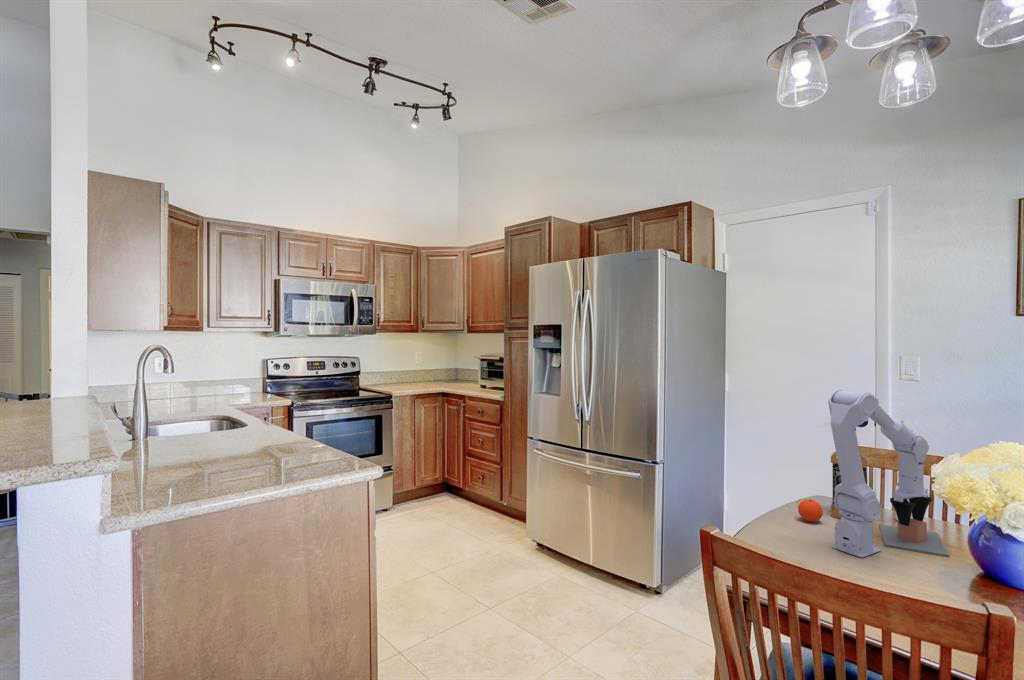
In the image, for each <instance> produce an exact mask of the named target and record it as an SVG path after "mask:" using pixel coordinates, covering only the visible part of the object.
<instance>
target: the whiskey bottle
mask: <svg viewBox="0 0 1024 680" xmlns="http://www.w3.org/2000/svg"><path fill="white" fill-rule="evenodd" d="M855 431H857V427H856V428H855ZM857 441H858V439H857ZM859 452H860V457H861V462H862V467H863V473H864V478H865V483H866V484H867V485H868V466H869V456H868V455H866V454H864V453H863V452H861V451H860V450H859ZM830 463H831V464H832V502H831V505H830V507H831V508H830V516H831V517H832V518H836V519H841V517H842V514H840V513H839V509H837V508H836V506H835V503H834V498H835V489H834V488H835V487H836V486H837V485H838V484H840V483H842V480H841V475H840V470H839V464H838V459H837V454H836V451H834V452H832V454H831V456H830Z"/></svg>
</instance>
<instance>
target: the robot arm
mask: <svg viewBox="0 0 1024 680" xmlns="http://www.w3.org/2000/svg"><path fill="white" fill-rule="evenodd" d="M827 402H828V403H827V404H828V408H829V413H830V426H831V433H832V437H833V444H834V448H835V452H836V454H837V459H838V464H839V470H840V475H841V480H842V483H840V484H838V485H837V486H836V487H835V488H834V489H835V498H834V503H835V506H836V508H837V509H839V513H840V514H842V517H841V518H840V520H838V521H837V522H836V523H835V525H834V544H833V545H831V548H833V549H836V550H839V551H842V552H845V553H847V554H850V555H853V556H856V557H858V558H865V557H868V556H870V555H874V554H876V553H879V552H881V549H880V548H879V547H875V546H874V521H876V520H877V519H878V518H879V516H880V515H881V512H882V506H881V502H880V501H879V499H878V497H877V494H876V492H875V490H873V488H871V487H870V486H869V485H868V483H867V484H866V483H865V478H864V473H863V467H862V462H861V457H860V452H861V451H860V446H859V442H858V441H857V440H858V435H857V432H856V431H857V430H856V431H855V428H856V429H857V427H858V426H860V425H862V424H863V423H865V422H866V421H867V420H868V419H870V420H871V421H873V422H874V423H876V424H877V425H878V426H880V429H879V430H880V432H881V433H882V435H884V436H885V437H886V438H887V439H888V440H889V441H890V442H891V443H892V447H893V450H894V451H896V452H898V453H897V454H898V455H897V456H898V458H897V459H898V461H897V462H898V463H897V464H898V468H897V469H898V473H897V474H898V476H897V477H898V482H899V489H898V490H897V492H896V493H895V492H894V493H893V497H890V498H889V502H890V504H891V505H892V507H893V508H894V511H895V515H896V514H897V517H898V520H899V523H900V524H901V525H905V526H909V524H910V519H911V513H912V517H913V519H915V520H919V521H923V522H924V519H925V515H926V511H927V509H928V507H929V505H930V504H931V503H932V501H933V498H932V497H930V496H929V493H928V492H929V491H928V488H927V487H924V483H925V482H924V478H925V477H924V475H925V474H924V462H926V460H927V454H928V452H929V450H930V445H929V443H928V441H927V440H926V439H925V438H924V436H921V435H917V434H916V433H914V431H913V430H912V429H910V428H909V427H908V426H906V425H905V424H904V421H903V419H899V418H892V417H891V416H890V415H889V414H888V413H887V412H886V411H885V409H883V408H882V406H881V405H880V402H879V398H877V397H875V395H874V394H873V393H871V392H861V391H859V392H858V391H852V390H851V391H850V390H843V389H836V390H834V391H833V392H832V394H831V395H830V397H829V398H828V400H827ZM859 451H860V452H859ZM907 499H909V501H910V502H909V501H907Z"/></svg>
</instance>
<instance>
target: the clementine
mask: <svg viewBox="0 0 1024 680" xmlns="http://www.w3.org/2000/svg"><path fill="white" fill-rule="evenodd" d="M799 501H800V502H799ZM799 501H797V503H796V504H798V502H799V504H798V506H797V511H798V514H799V516H800V517H801V518H802V519H803V520H805V521H807V522H811V523H813V522H818V521H820V520H821V518H822V517H823V515H824V514H823V513H824V512H823V511H824V510H823V508H822V506H821V504H820V503H819V502H818V501H816V500H814V499H812V498H811V499H810V498H804V499H802V498H800V499H799Z"/></svg>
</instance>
